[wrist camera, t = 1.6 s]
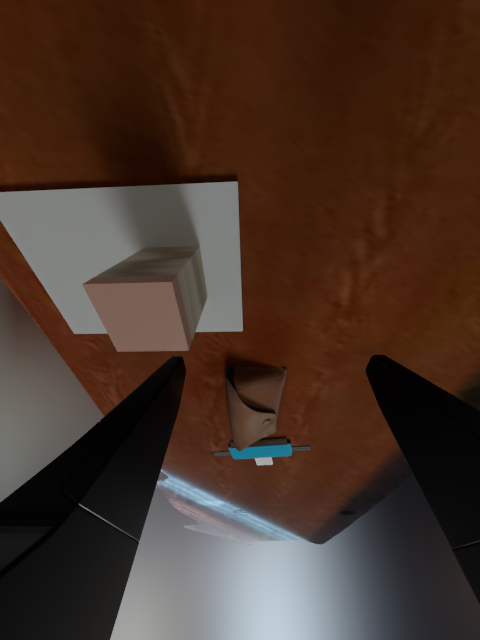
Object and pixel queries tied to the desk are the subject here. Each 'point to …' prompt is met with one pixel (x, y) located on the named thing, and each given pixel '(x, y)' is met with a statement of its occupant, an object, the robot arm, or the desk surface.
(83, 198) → the grey mat
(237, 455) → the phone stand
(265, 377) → the sunglasses case
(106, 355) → the desk surface
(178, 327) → the birch block
